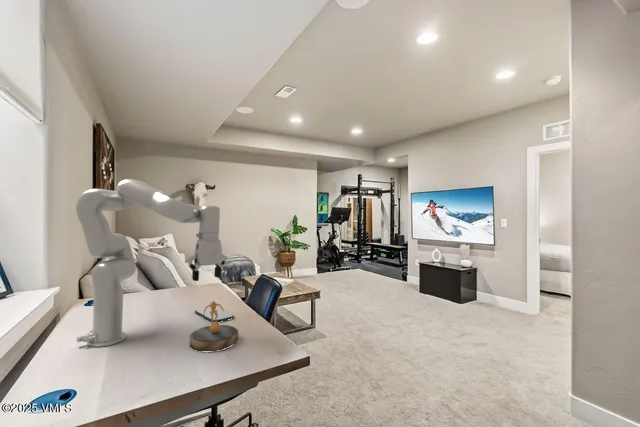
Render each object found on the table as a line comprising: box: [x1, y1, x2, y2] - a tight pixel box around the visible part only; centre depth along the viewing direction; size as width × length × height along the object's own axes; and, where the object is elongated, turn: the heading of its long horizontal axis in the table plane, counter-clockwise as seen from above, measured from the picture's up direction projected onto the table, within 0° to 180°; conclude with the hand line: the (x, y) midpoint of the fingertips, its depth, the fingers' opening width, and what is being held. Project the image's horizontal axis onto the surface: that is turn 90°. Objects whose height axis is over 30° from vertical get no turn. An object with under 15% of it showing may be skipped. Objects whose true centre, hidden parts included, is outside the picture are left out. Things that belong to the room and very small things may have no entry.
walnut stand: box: [189, 324, 239, 352], centre depth 117 cm, size 18×18×4 cm
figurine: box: [203, 300, 225, 333], centre depth 117 cm, size 8×6×12 cm
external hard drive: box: [194, 305, 235, 323], centre depth 148 cm, size 24×12×2 cm, turn 46°
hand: (206, 278), depth 119 cm, fingers open, 9 cm apart
